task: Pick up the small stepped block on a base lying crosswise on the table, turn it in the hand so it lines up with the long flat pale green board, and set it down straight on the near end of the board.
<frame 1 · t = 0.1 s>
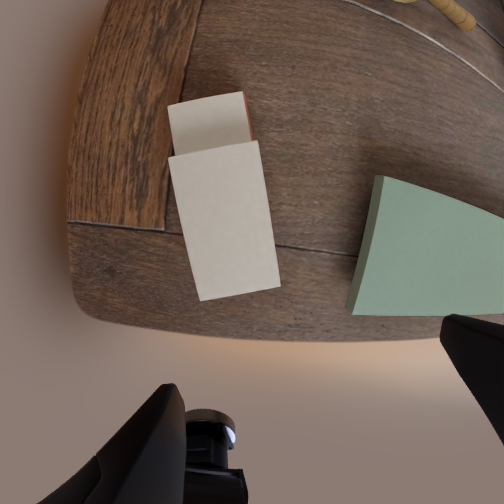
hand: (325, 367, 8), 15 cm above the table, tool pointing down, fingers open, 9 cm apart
flat pale green board: (478, 260, 25), on the table
stepped block on base: (222, 192, 21), on the table
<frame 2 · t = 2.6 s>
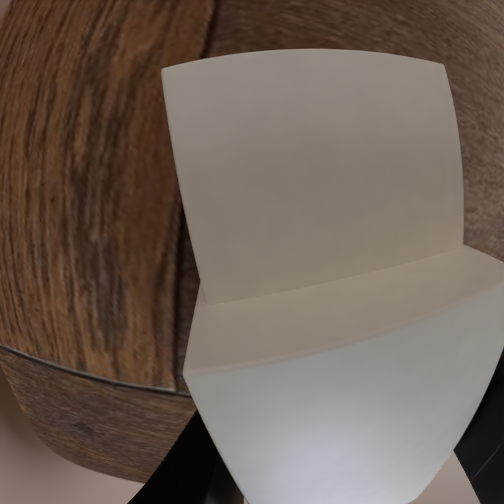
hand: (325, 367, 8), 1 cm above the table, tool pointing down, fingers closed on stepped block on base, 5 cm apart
stepped block on base: (313, 323, 8), on the table, touching gripper
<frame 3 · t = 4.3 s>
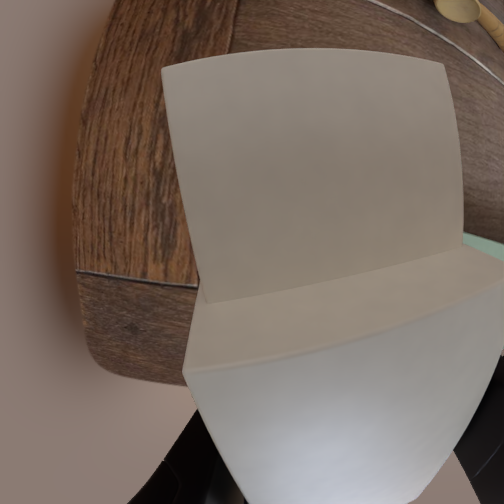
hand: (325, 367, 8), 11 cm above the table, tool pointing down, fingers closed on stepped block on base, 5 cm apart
kendama: (446, 5, 13), on the table
stepped block on base: (313, 322, 8), point 10 cm above the table, touching gripper
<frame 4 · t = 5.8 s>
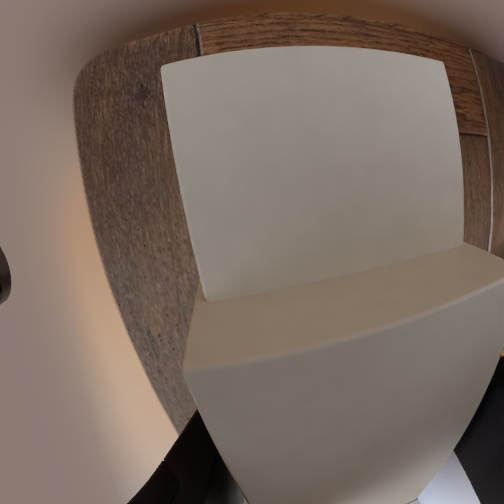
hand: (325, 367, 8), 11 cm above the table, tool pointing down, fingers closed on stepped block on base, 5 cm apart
pitcher: (427, 450, 30), on the table
stepped block on base: (313, 321, 8), point 10 cm above the table, touching gripper
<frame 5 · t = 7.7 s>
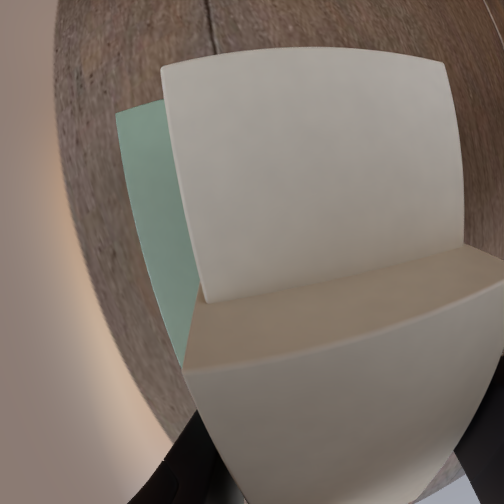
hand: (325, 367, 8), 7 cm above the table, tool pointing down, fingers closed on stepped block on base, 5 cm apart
flat pale green board: (300, 403, 17), on the table
stepped block on base: (313, 322, 8), point 6 cm above the table, touching gripper
when the fingers open (4 cm above the table, at t = 8.9 s): stepped block on base stays where it is, resting on flat pale green board.
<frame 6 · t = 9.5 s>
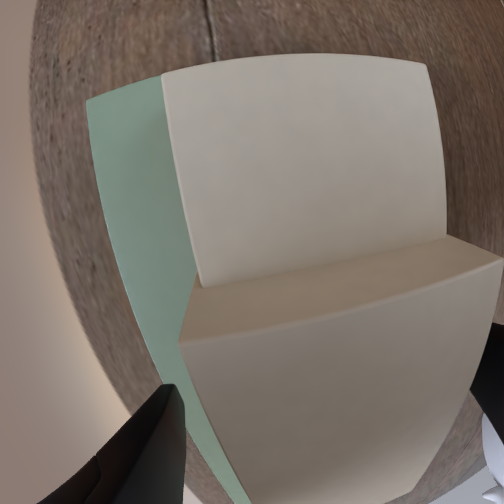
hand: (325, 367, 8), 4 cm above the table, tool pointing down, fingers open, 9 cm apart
flat pale green board: (305, 426, 15), on the table
pitcher: (493, 403, 19), on the table
stepped block on base: (307, 314, 9), point 3 cm above the table, touching flat pale green board
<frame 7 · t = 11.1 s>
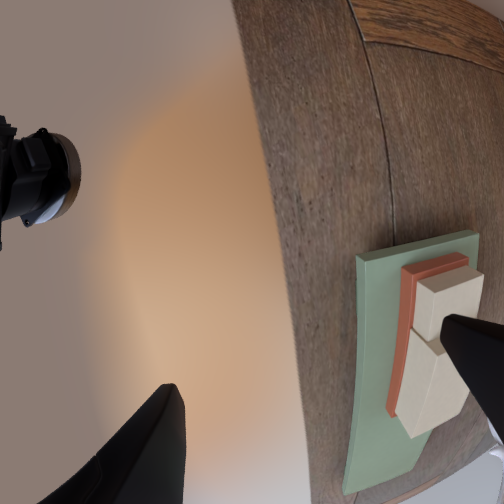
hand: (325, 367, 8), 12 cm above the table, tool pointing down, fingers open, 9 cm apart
flat pale green board: (393, 398, 24), on the table
pitcher: (493, 388, 28), on the table
stepped block on base: (422, 340, 19), point 3 cm above the table, touching flat pale green board
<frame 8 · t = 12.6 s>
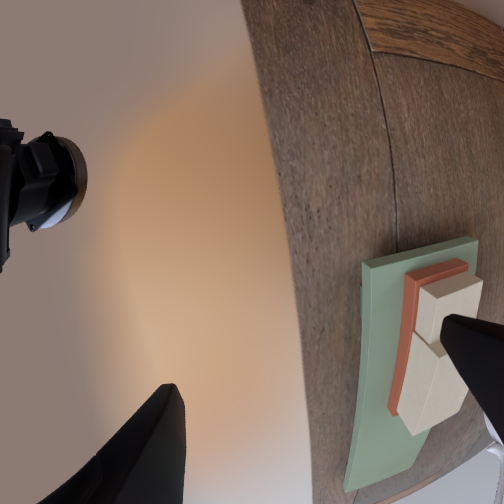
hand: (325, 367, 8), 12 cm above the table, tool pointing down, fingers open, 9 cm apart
flat pale green board: (394, 398, 25), on the table
pitcher: (489, 388, 30), on the table
stepped block on base: (423, 342, 19), point 3 cm above the table, touching flat pale green board
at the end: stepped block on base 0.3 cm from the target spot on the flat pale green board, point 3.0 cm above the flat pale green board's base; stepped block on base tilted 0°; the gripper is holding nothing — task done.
